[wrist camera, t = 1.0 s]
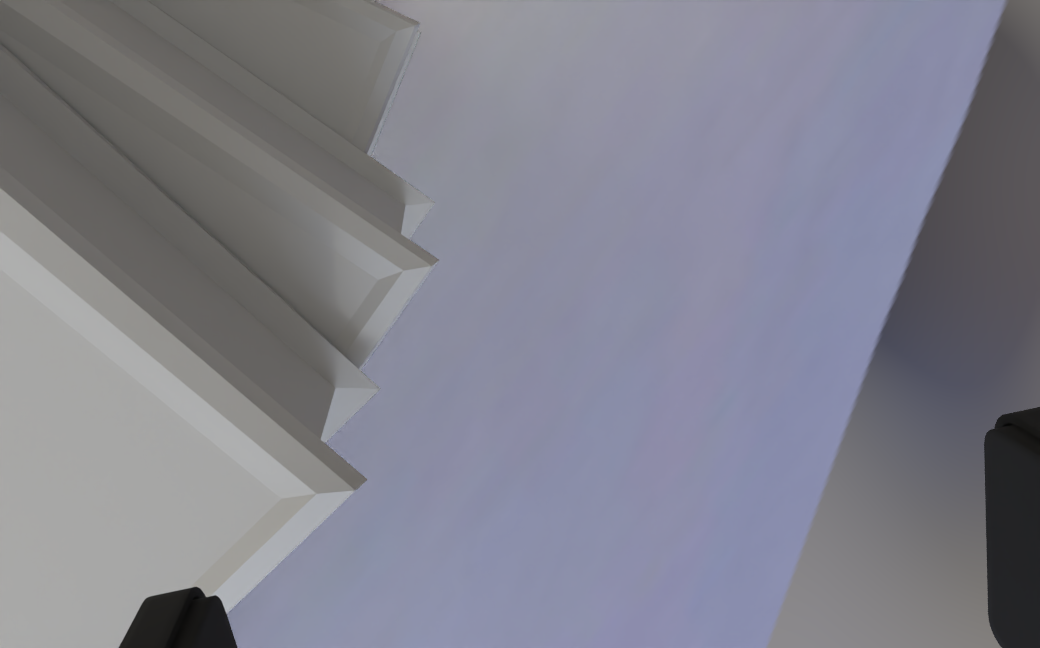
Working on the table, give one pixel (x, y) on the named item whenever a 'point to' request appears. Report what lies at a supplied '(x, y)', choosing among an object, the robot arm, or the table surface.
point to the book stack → (186, 292)
